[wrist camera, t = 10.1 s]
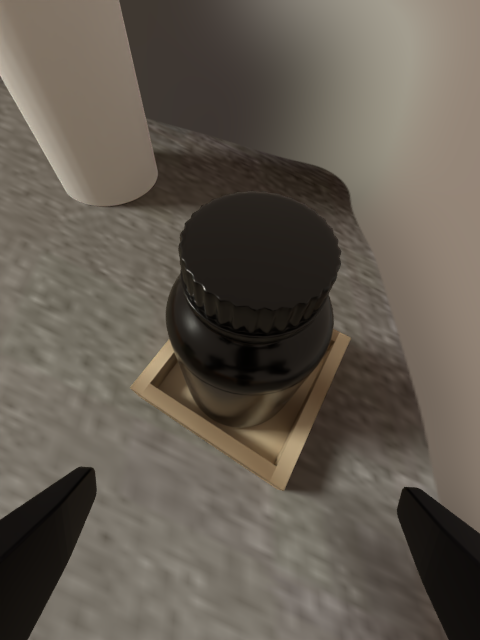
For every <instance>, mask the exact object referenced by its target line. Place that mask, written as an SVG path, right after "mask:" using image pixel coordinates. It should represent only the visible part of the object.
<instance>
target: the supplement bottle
mask: <svg viewBox="0 0 480 640" xmlns="http://www.w3.org/2000/svg"><path fill="white" fill-rule="evenodd" d="M178 250H179V256H180V265H181V274H180V275H179V276H178V278H177V279H176V281H175V283H174V285H173V287H172V289H171V291H170V294H169V297H168V301H167V306H166V325H167V331H168V335H169V339H170V342H171V345H172V347H173V350H174V353H175V355H176V358H177V360H178V363H179V365H180V368H181V371H182V373H183V376H184V378H185V381H186V383H187V386H188V389H189V391H190V393H191V395H192V397H193V399H194V401H195V403H196V404H197V406H198V407H199V408H200V409H201V410H202V411H203V412H204V413H205V414H206V415H207V416H208V417H209V418H211V419H212V420H214V421H216V422H218V423H220V424H223V425H226V426H230V427H237V428H246V427H252V426H256V425H259V424H262V423H264V422H266V421H268V420H269V419H271V418H273V417H274V416H275V415H276V414H277V413H278V412H279V411H280V410H281V409H282V408H283V407H284V406H285V405H286V404H287V402H288V401H289V400H290V399H291V398H292V396H293V395H294V394H295V393H296V391H297V390H298V389H299V388H300V387H301V385H302V384H303V383H304V382H305V380H306V379H307V378H308V377H309V376H310V374H311V373H312V372H313V371H314V369H315V368H316V367H317V366H318V364H319V363H320V361H321V360H322V358H323V357H324V355H325V353H326V351H327V349H328V347H329V344H330V341H331V338H332V333H333V326H334V316H333V308H332V304H331V300H330V297H329V291H330V290H331V288H332V286H333V284H334V283H335V281H336V278H337V272H338V270H339V269H340V266H341V261H340V258H339V257H340V255H341V250H340V248H339V247H338V239H337V237H336V236H335V235H334V234H333V229H332V228H331V227H330V226H329V225H328V224H327V223H326V220H325V219H324V218H322V217H321V216H319V215H318V213H317V212H316V211H315V210H313V209H311V208H308V207H307V206H306V205H305V204H304V203H301V202H298V201H296V200H294V199H293V198H290V197H284V196H282V195H280V194H271V193H268V192H255V191H248V192H236V193H234V194H229V195H223V196H222V197H220V198H217V199H212V200H211V201H210V202H209V203H208V204H205V205H202V206H201V207H200V209H199V210H198V211H196V212H194V213H193V214H192V216H191V219H189V220H188V221H187V222H186V223H185V227H184V230H183V231H182V232H181V234H180V244H179V248H178Z"/></svg>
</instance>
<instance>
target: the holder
mask: <svg viewBox="0 0 480 640" xmlns="http://www.w3.org/2000/svg"><path fill="white" fill-rule="evenodd" d="M350 339H351V338H350V337H348V336H346V335H344V334H342V333H340V332H338V331H336V330H334V329H333V333H332V338H331V341H330V344H329V347H328V349H327V351H326V353H325V355H324V357H323V358H322V360H321V361H320V363H319V364H318V366H317V367H316V368H315V369H314V371H313V372H312V373H311V374H310V376H309V377H308V378H307V379H306V380H305V382H304V383H303V384H302V385H301V387H300V388H299V389H298V390H297V391H296V393H295V394H294V395H293V396H292V398H291V399H290V400H289V401H288V402H287V404H286V405H285V406H284V407H283V408H282V409H281V410H280V411H279V412H278V413H277V414H276V415H275V416H274V417H273V418H271V419H269V420H268V421H266V422H264V423H262V424H259V425H256V426H252V427H246V428H237V427H230V426H226V425H223V424H220V423H218V422H216V421H214V420H212V419H211V418H209V417H208V416H207V415H206V414H205V413H204V412H203V411H202V410H201V409H200V408H199V407H198V406H197V404H196V403H195V401H194V399H193V397H192V395H191V393H190V391H189V389H188V386H187V383H186V381H185V378H184V376H183V373H182V371H181V368H180V365H179V363H178V360H177V358H176V355H175V353H174V350H173V347H172V345H171V342H170V339H169V340H168V341H167V342H166V344H165V345H164V346H163V347H162V349H161V350H160V351H159V352H158V354H157V355H156V356H155V357H154V359H153V360H152V361H151V362H150V364H149V365H148V366H147V367H146V368H145V370H144V371H143V372H142V373H141V375H140V376H139V377H138V378H137V380H136V381H135V382H134V383H133V385H132V386H131V387H130V388H131V389H132V390H133V391H134V392H135V393H136V394H137V395H138V396H140V397H141V398H142V399H144V400H145V401H147V402H148V403H150V404H151V405H153V406H154V407H156V408H157V409H159V410H160V411H162V412H163V413H165V414H166V415H168V416H169V417H170V418H172V419H173V420H175V421H176V422H178V423H179V424H181V425H182V426H184V427H185V428H187V429H188V430H190V431H191V432H193V433H194V434H196V435H197V436H199V437H200V438H202V439H203V440H205V441H206V442H208V443H209V444H211V445H212V446H214V447H215V448H217V449H218V450H219V451H221V452H222V453H224V454H225V455H227V456H228V457H230V458H231V459H233V460H234V461H236V462H237V463H239V464H240V465H242V466H243V467H245V468H246V469H248V470H249V471H251V472H252V473H254V474H255V475H257V476H258V477H260V478H261V479H263V480H264V481H266V482H267V483H268V484H270V485H271V486H273V487H274V488H276V489H278V490H282V491H284V489H285V487H286V484H287V482H288V480H289V478H290V475H291V473H292V471H293V469H294V466H295V464H296V462H297V459H298V457H299V455H300V453H301V450H302V448H303V446H304V444H305V441H306V439H307V437H308V435H309V432H310V430H311V428H312V425H313V423H314V421H315V419H316V416H317V414H318V412H319V410H320V407H321V405H322V403H323V400H324V398H325V396H326V394H327V391H328V389H329V387H330V385H331V382H332V380H333V378H334V375H335V373H336V371H337V369H338V366H339V364H340V362H341V360H342V357H343V355H344V353H345V350H346V348H347V346H348V344H349V341H350Z"/></svg>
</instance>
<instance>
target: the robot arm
mask: <svg viewBox="0 0 480 640" xmlns="http://www.w3.org/2000/svg"><path fill="white" fill-rule="evenodd" d="M96 491H97V488H96V477H95V470H94V468H92V467H78V468H76V469H75V470H73V471H72V472H70V473H69V474H67V475H66V476H64V477H63V478H61V479H60V480H58V481H57V482H55V483H54V484H52V485H51V486H50V487H48V488H47V489H45V490H44V491H42V492H41V493H39V494H38V495H36V496H35V497H33V498H32V499H30V500H29V501H27V502H26V503H24V504H23V505H21V506H20V507H18V508H17V509H15V510H14V511H12V512H11V513H10V514H8V515H7V516H5V517H4V518H2V519H1V520H0V640H28V638H29V636H30V634H31V632H32V630H33V628H34V626H35V625H36V623H37V621H38V619H39V617H40V615H41V613H42V611H43V609H44V607H45V605H46V604H47V602H48V600H49V598H50V596H51V594H52V592H53V590H54V588H55V586H56V584H57V583H58V581H59V579H60V577H61V575H62V573H63V571H64V569H65V567H66V565H67V563H68V561H69V559H70V557H71V554H72V552H73V550H74V547H75V545H76V543H77V540H78V538H79V535H80V533H81V531H82V528H83V526H84V524H85V521H86V519H87V516H88V514H89V512H90V509H91V507H92V505H93V502H94V500H95V497H96ZM397 515H398V519H399V522H400V524H401V527H402V530H403V532H404V535H405V538H406V540H407V543H408V546H409V548H410V551H411V554H412V557H413V559H414V562H415V565H416V567H417V570H418V573H419V575H420V578H421V580H422V583H423V585H424V587H425V589H426V592H427V594H428V596H429V598H430V600H431V602H432V605H433V607H434V609H435V611H436V613H437V615H438V618H439V620H440V622H441V624H442V626H443V628H444V630H445V633H446V635H447V637H448V639H449V640H480V533H478V532H477V531H476V530H474V529H473V528H472V527H470V526H469V525H467V524H466V523H465V522H464V521H462V520H461V519H460V518H458V517H457V516H455V515H454V514H453V513H451V512H450V511H449V510H448V509H446V508H445V507H444V506H442V505H441V504H440V503H438V502H437V501H436V500H434V499H433V498H432V497H430V496H429V495H428V494H427V493H425V492H424V491H423V490H421V489H419V488H415V487H404V488H403V489H402V492H401V496H400V500H399V503H398V507H397Z"/></svg>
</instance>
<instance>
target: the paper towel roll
mask: <svg viewBox="0 0 480 640" xmlns="http://www.w3.org/2000/svg"><path fill="white" fill-rule="evenodd" d="M0 76H1V78H2V80H3V81H4V83H5V85H6V87H7V88H8V90H9V92H10V94H11V95H12V97H13V99H14V101H15V102H16V104H17V106H18V108H19V110H20V111H21V113H22V115H23V117H24V118H25V120H26V122H27V124H28V125H29V127H30V129H31V131H32V132H33V134H34V136H35V138H36V139H37V141H38V143H39V145H40V147H41V148H42V150H43V152H44V154H45V155H46V157H47V159H48V161H49V162H50V164H51V166H52V168H53V169H54V171H55V173H56V175H57V176H58V178H59V180H60V182H61V184H62V185H63V187H64V189H65V191H66V192H67V193H68V195H69V196H71V197H72V198H73V199H75V200H77V201H79V202H81V203H84V204H88V205H93V206H114V205H120V204H124V203H127V202H130V201H133V200H135V199H137V198H139V197H141V196H143V195H144V194H145V193H147V192H148V191H149V190H150V189H151V188H152V187H153V186H154V184H155V182H156V180H157V177H158V170H157V166H156V161H155V157H154V152H153V148H152V144H151V139H150V135H149V130H148V126H147V122H146V117H145V113H144V109H143V105H142V100H141V96H140V91H139V87H138V82H137V78H136V73H135V69H134V65H133V60H132V56H131V51H130V47H129V43H128V38H127V34H126V30H125V25H124V21H123V17H122V12H121V8H120V3H119V0H0Z"/></svg>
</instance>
